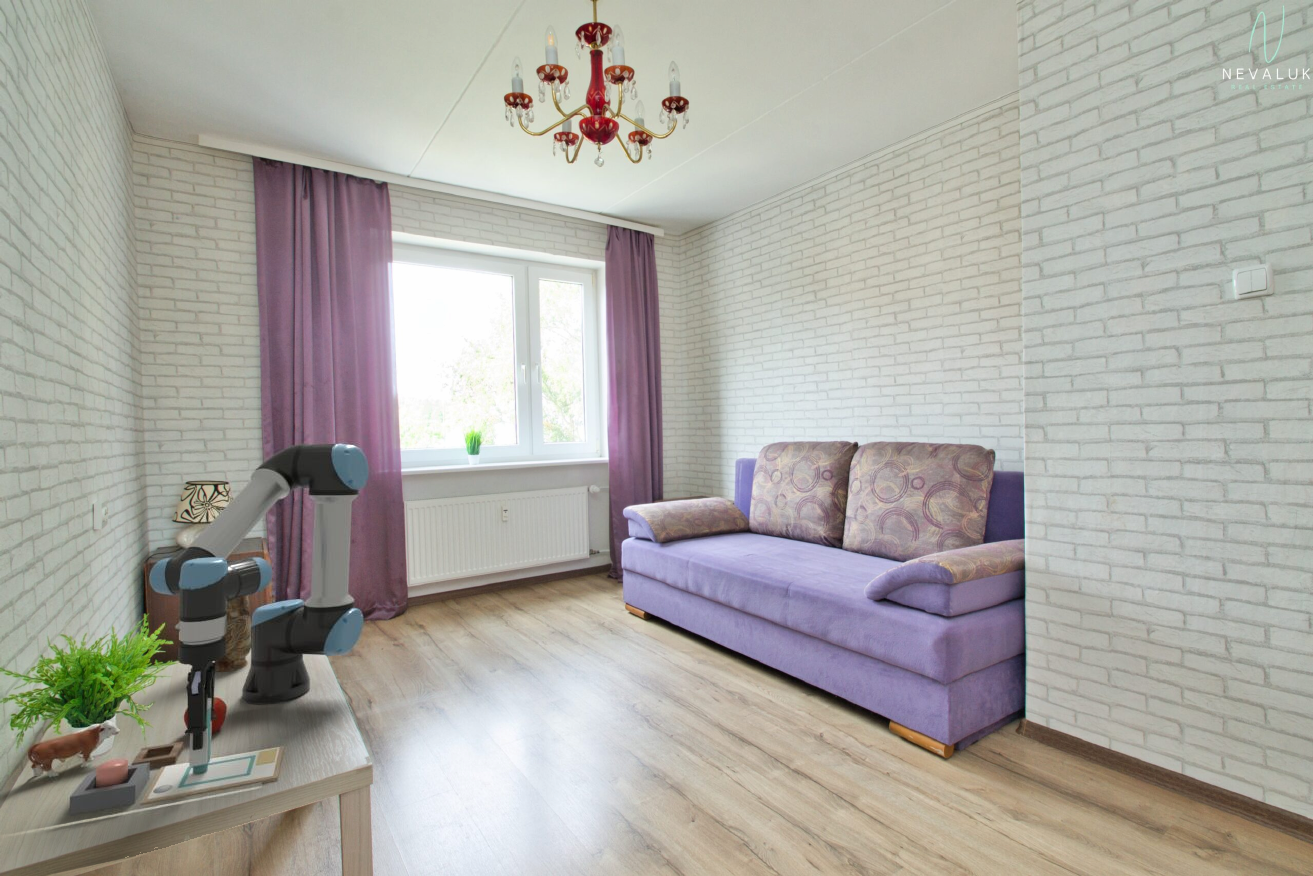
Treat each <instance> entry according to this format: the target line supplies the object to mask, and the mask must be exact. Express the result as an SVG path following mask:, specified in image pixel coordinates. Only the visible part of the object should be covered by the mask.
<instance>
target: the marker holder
mask: <svg viewBox="0 0 1313 876" xmlns="http://www.w3.org/2000/svg"><path fill="white" fill-rule="evenodd" d="M183 750H184V741H180V742H173V743H166V744H161V745H160V744H159V745H155V746H154V745H153V746H148V747H142V748H141V749H140V750H139V752H138V753H137V755H136V756H135V758H134V759H133V760H132V762H131V764H130V766H131V765H137V764H143V763H149V762H150V769H152V768H157V767H164V766H169V765H175V764H177V761H178V760H179V758H180V755H181V754H182V752H183Z"/></svg>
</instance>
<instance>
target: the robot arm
mask: <svg viewBox="0 0 1313 876" xmlns="http://www.w3.org/2000/svg"><path fill="white" fill-rule="evenodd" d="M369 475H370V467H369V463H368V459H367V457H366V454H365V453H364V452H363V450H362V449H361V448H360V447H358V446H357V445H353V444H347V443H346V444H344V443H320V444H319V443H300V444H299V443H298V444H294V445H291V446H288V447H285V448H284V449H281V450H280V451H278V452H276V453H275V454H273V455H272V456H270V457H269V458H267V459H266V460H265V461H264V462H262V463H261V464H260V465H259V466H258V467H257V468H256V469H255V470H254V471H253V472H252V473H251V476H250V482H249V483H248V484H247V485H246V486H244V487H243V489H242V490H241V491H240V492H239V493H238V494H237V495H236V496H235V497H234V498H233V499H232V500H231V501H230V502H229V503H228V504H227V505H226V506H225V507H224V509H223V510H221V512H219V514H217V516H216V517H215V518H214V519H213V520H212V521H211V522H210V523H209V524H208V525H207V526H206V527H205V528H204V530H202V531H201V533H200V534H198V536H197V537H196V538H195V539H194V540H193V541H192V542H191V543H190V544H189V545H188V546H187V547H186V548H185V549H184V550H183V551H182V552H181V553H180V555H178V556H177V557H169V558H168V557H167V558H162V559H161V560H158V561H157V562H156V563H155V564H154V565H153V566H152V568H151V570H150V571H149V572H150V573H149V577H148V578H149V579H148V580H149V581H148V582H149V584H150V587H151V588H152V590H153V591H154V592H156V593H158V594H163V595H170V596H179V616H178V617H179V619H178V620H179V621H178V623H177V624H176V625H175V626H174V627H175V629H176V630H179V631H178V640H179V641H180V643H179V644H178V652H177V653H178V656H177V659H178V662H179V663H180V665H181V664H182V665H189V666H191V669H190V672H189V671H188V673H187V682H188V683H187V684H186V686H185V687H186V688H185V689H186V694H187V708H188V729H187V728H186V730H185V731H184V734H185V735H189V761H188V762H189V767H191V766H197V765H202V764H207V751H208V728H207V726H206V723H207V701H208V698H211V720H213V719H216V714H215V715H212V713H213V712H214V697H215V683H216V682H215V681H216V672H217V671H216V662H215V661H216V660H219V659H221V658H222V657H224V655H225V653H226V638H225V637H224V635H225V634H226V623H227V614H226V603H227V601H231V600H234V599H237V598H240V597H244V596H247V595H248V596H250V595H251V596H252V595H255V594H256V593H259V592H261V591H263V590H264V589H266V588H267V587H268V586H269V585H270V584H271V583H272V579H273V568H272V566H271V564H270V563H269V562H268V561H267V560H266V559H264V558H262V557H258V556H257V557H256V556H255V557H246V558H244V559H238V560H237V559H228V557H229V556H230V555H231V554H232V552H233V551H234V550H235V549H236V548H237V547H238V546H239V544H240V543H241V542H242V541H243V540H244V539H245V538H246V537H247V535H248V534H249V533H250V532H251V531H252V530H253V529H254V527H256V525H257V524H259V522H260V521H261V520H262V518H264V516H265V515H266V514H267V513H268V512H269V511H270V509H271V508H273V506H274V505H275V504H276V503H277V502H278V500H281V499H282V500H283V499H285V498H286V497H287V496H288V495H289V494H290V493H291V492H293V491H295V490H297V489H308V497H309V498H310V499H311V500H312V501H313V502H314V515H313V517H314V518H313V537H312V538H313V541H312V542H313V543H312V559H311V560H312V562H311V564H312V565H311V586H310V587H311V588H310V590H311V591H310V596H309V598H307V599H306V600H305V601H304V600H303V599H297V598H296V599H288V600H281V601H277V602H272V603H268V604H265V605H262V606H259V607H258V608H256V609H255V610H254V611H253V612H252V616H251V649H250V668H249V671H248V673H247V675H246V678H245V682H244V684H243V687H242V689H241V695H242V696H241V699H242V701H244V702H245V703H248V704H256V705H261V704H262V705H264V704H275V703H280V702H281V703H282V702H284V701H288V700H292V699H295V698H298V697H300V696H303V695H304V694H306V693H308V692H309V690H310V688H311V677H310V674H309V672H308V669H307V666H306V664H305V661H304V655H311V656H312V655H313V656H314V655H316V656H326V657H331V656H343V655H346V654H347V653H349V652H350V651H351V650H352V649H354V647H355V646H356V645H357V643H358V641H359V639H360V637H361V634H362V631H363V628H364V615H363V612H362V611H361V610H360V609H359V608H357V607H355V599H354V598H353V596H352V595H351V594H350V593H349V586H350V585H349V582H350V581H349V579H350V577H349V576H350V560H351V558H350V556H351V555H350V554H351V533H352V532H351V530H352V529H351V528H352V523H351V522H352V507H353V506H352V505H353V504H352V502H353V501H354V500H355V499H357V498H358V497H359V490H361V489H363V488H364V487H365V486H366V485H367V483H368V482H367V481H368V480H369ZM211 728H212V721H211ZM211 755H212V734H211V729H210V756H211Z"/></svg>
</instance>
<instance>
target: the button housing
mask: <svg viewBox="0 0 1313 876" xmlns="http://www.w3.org/2000/svg"><path fill="white" fill-rule="evenodd" d="M150 770H151V768H150V762H149V763H143V764H137V765H131V764H130V765H128V778H127V780H126V781H124V782H122V783H120V784H118V785H113V786H108V787H102V788H98V787H96V770H95V771H91V772H88V773H87V775H86V776H85V777H84V779H82V781H81V782H80V783H79V785H78V786H77V787H76V788H75V790H74V791H73V793H72V794H71V795H70V796H69V816H73V815H78V814H84V813H87V812H88V813H90V812H94V811H100V810H103V809H104V810H105V809H111V808H115V807H121V806H126V805H131V804H136V802H137V801H138V799H139V798H140V796H141V793H142V792H143V790H144V789H145V787H146V786H147V783H148V782H149V780H150V779H151V778H150V777H151V775H150V773H151V772H150Z"/></svg>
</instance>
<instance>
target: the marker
mask: <svg viewBox="0 0 1313 876" xmlns="http://www.w3.org/2000/svg"><path fill="white" fill-rule="evenodd" d="M206 726H207V728H208V751H207V764H202V765H197V766H192V767H193V773H194V774H199V773H203V772H205V771H207V770H208V763H209V762H210V759H211V755H210V729H211V698H208V701H207V723H206Z"/></svg>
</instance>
